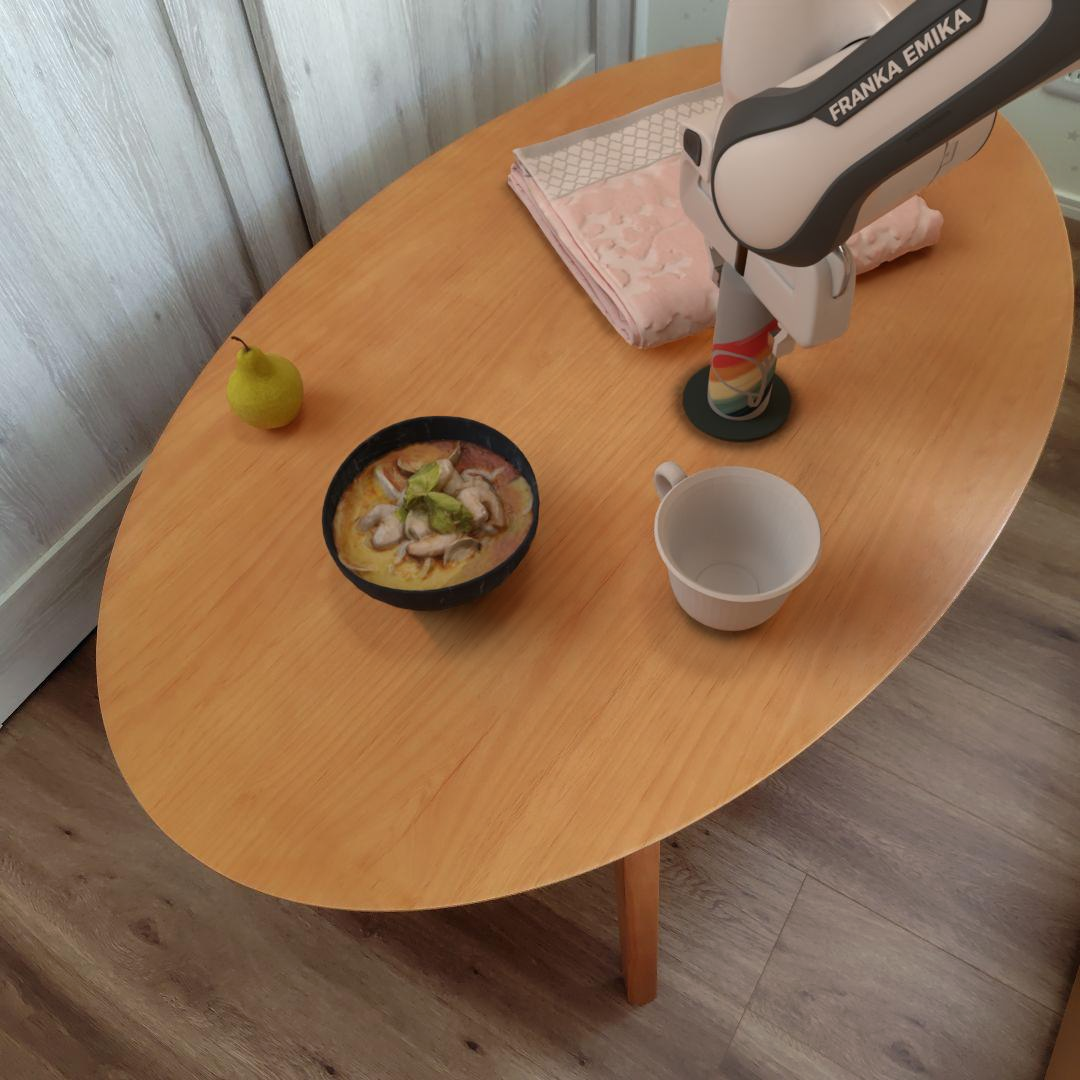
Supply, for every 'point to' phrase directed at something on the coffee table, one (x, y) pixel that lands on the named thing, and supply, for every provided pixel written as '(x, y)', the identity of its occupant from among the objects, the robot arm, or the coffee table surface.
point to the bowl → (431, 513)
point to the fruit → (264, 388)
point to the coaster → (731, 429)
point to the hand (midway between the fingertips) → (749, 315)
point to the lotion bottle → (740, 347)
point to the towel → (656, 220)
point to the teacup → (733, 542)
